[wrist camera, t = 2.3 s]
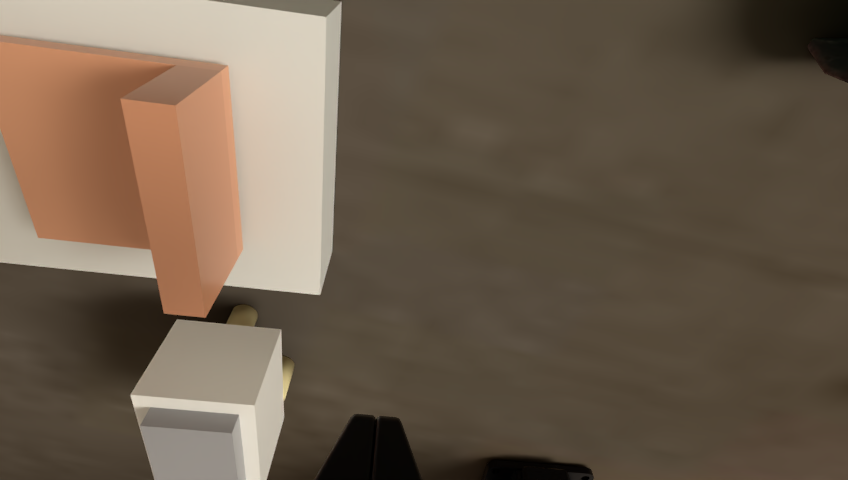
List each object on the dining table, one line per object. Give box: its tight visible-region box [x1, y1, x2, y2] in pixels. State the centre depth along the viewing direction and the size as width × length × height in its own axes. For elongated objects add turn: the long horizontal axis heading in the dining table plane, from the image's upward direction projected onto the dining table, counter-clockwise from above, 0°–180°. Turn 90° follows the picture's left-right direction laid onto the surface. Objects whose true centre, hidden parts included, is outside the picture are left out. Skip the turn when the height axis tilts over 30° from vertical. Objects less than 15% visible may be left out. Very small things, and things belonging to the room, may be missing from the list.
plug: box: [130, 304, 295, 480], centre depth 22 cm, size 6×5×7 cm
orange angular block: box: [0, 35, 243, 318], centre depth 14 cm, size 6×7×4 cm
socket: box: [0, 0, 342, 295], centre depth 17 cm, size 10×12×3 cm
